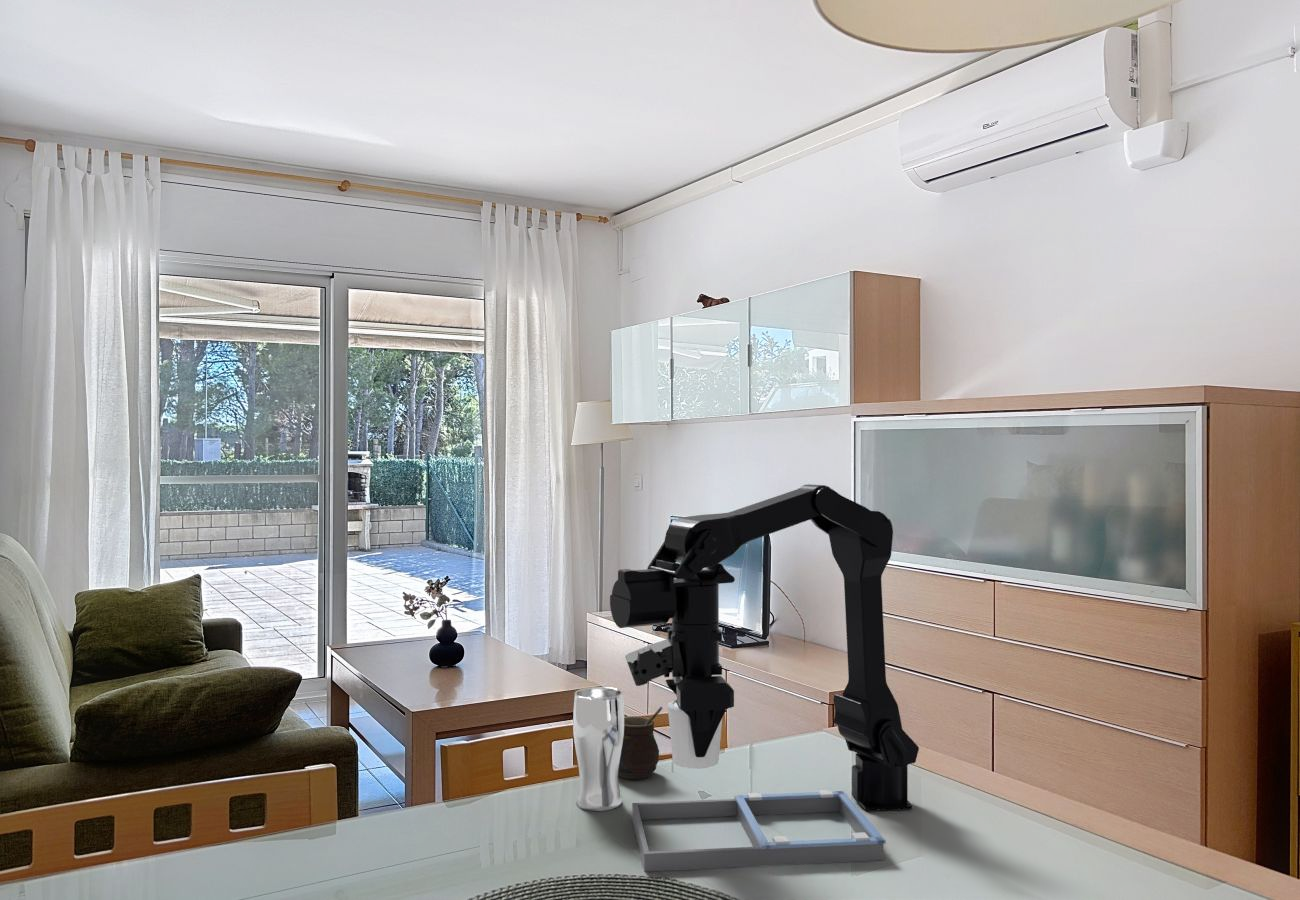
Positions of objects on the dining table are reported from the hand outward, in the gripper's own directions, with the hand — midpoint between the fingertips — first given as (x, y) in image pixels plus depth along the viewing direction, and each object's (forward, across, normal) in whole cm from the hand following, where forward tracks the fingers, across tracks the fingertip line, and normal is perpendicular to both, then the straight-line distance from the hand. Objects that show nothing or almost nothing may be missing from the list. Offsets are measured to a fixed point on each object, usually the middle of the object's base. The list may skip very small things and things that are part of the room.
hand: (695, 748), depth 120 cm
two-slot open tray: (+11, 0, +7) cm, 13 cm away
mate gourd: (+12, -25, -5) cm, 28 cm away
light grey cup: (+2, 0, 0) cm, 2 cm away
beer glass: (+12, -14, -11) cm, 21 cm away
